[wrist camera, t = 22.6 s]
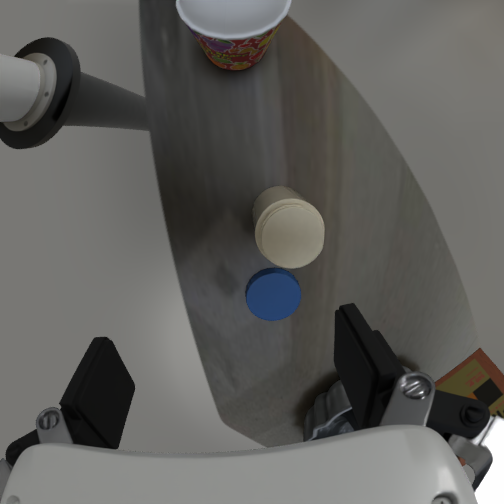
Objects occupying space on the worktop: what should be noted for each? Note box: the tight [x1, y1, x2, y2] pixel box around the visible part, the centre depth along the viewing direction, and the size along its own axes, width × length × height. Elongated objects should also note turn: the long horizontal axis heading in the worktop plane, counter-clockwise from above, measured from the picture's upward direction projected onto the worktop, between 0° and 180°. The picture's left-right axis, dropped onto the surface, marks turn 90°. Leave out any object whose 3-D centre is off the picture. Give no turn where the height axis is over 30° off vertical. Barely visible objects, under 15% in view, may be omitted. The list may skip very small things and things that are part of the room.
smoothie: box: [176, 0, 292, 70], centre depth 18 cm, size 8×8×20 cm
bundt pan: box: [304, 366, 412, 442], centre depth 43 cm, size 26×26×10 cm
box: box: [435, 348, 504, 467], centre depth 40 cm, size 17×9×20 cm, turn 123°
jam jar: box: [252, 186, 325, 269], centre depth 30 cm, size 7×7×10 cm
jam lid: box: [246, 267, 301, 321], centre depth 37 cm, size 7×7×2 cm
